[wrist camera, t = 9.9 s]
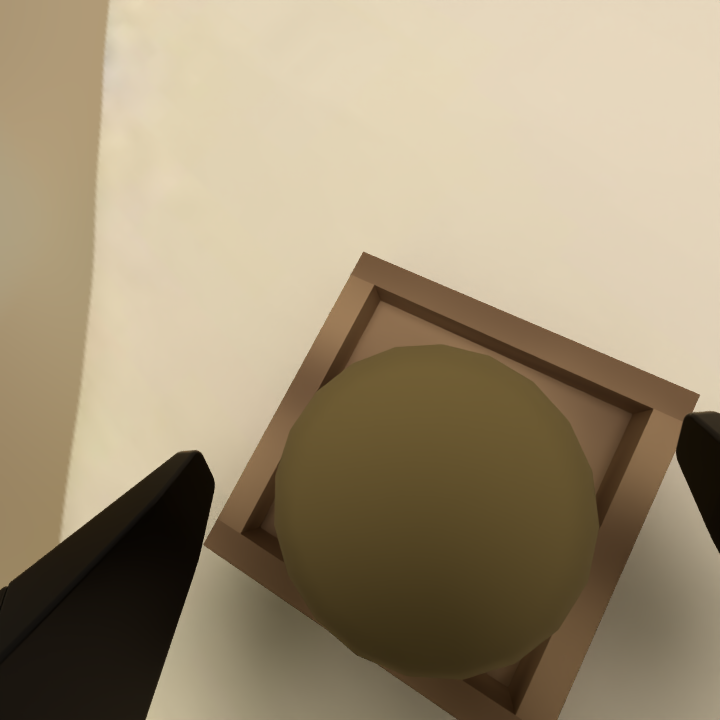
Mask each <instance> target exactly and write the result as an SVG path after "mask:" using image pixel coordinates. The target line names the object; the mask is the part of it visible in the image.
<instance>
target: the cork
mask: <svg viewBox="0 0 720 720" xmlns="http://www.w3.org/2000/svg"><path fill="white" fill-rule="evenodd" d="M274 526H275V530H276V533H277V537H278V541H279V544H280V548H281V552H282V555H283V559H284V563H285V566H286V570H287V574H288V576H289V577H290V579H291V581H292V582H293V584H294V586H295V587H296V589H297V590H298V592H299V594H300V595H301V597H302V598H303V600H304V602H305V603H306V605H307V606H308V608H309V610H310V611H311V613H312V614H313V616H314V618H315V619H316V620H317V621H318V622H319V623H320V624H321V625H322V626H324V627H325V628H326V629H327V630H328V631H329V632H330V633H332V634H333V635H334V636H335V637H336V638H337V639H339V640H340V641H341V642H342V643H343V644H344V645H345V646H347V647H348V648H349V649H350V650H351V651H352V652H354V653H355V654H356V655H357V656H360V657H362V658H364V659H367V660H369V661H372V662H374V663H376V664H379V665H381V666H384V667H386V668H388V669H391V670H393V671H395V672H398V673H400V674H403V675H405V676H408V677H425V678H441V679H458V680H463V679H466V678H470V677H473V676H476V675H479V674H483V673H486V672H489V671H493V670H496V669H499V668H502V667H506V666H509V665H512V664H515V663H517V662H518V661H519V660H520V659H522V658H523V657H524V656H526V655H527V654H528V653H529V652H531V651H532V650H533V649H535V648H536V647H537V646H538V645H540V644H541V643H542V642H543V641H545V640H546V639H547V638H549V637H550V636H551V635H552V634H554V633H555V632H556V631H558V630H559V628H560V627H561V625H562V624H563V622H564V620H565V619H566V617H567V615H568V614H569V612H570V610H571V609H572V607H573V606H574V604H575V602H576V601H577V599H578V597H579V596H580V594H581V592H582V591H583V589H584V588H585V586H586V584H587V583H588V579H589V575H590V570H591V565H592V560H593V555H594V550H595V545H596V541H597V536H598V531H599V520H598V512H597V504H596V496H595V488H594V480H593V472H592V469H591V467H590V465H589V463H588V460H587V458H586V456H585V454H584V452H583V450H582V448H581V445H580V443H579V441H578V439H577V437H576V435H575V433H574V430H573V428H572V426H571V424H570V422H569V420H568V419H567V418H566V417H565V416H564V415H563V414H562V413H561V412H560V410H559V409H558V408H557V407H556V406H555V405H554V404H553V403H552V402H551V401H550V399H549V398H548V397H547V396H546V395H545V394H544V393H543V392H542V391H541V390H540V388H539V387H538V386H537V385H536V384H535V383H534V382H533V381H531V380H530V379H528V378H526V377H525V376H523V375H521V374H520V373H518V372H516V371H515V370H513V369H511V368H509V367H508V366H506V365H504V364H503V363H501V362H499V361H498V360H496V359H494V358H493V357H491V356H489V355H485V354H481V353H477V352H472V351H468V350H464V349H460V348H456V347H452V346H448V345H444V344H436V345H420V346H404V347H394V348H391V349H389V350H386V351H384V352H381V353H378V354H376V355H373V356H371V357H368V358H365V359H363V360H360V361H357V362H355V363H352V364H351V365H350V366H348V367H347V368H346V369H345V370H343V371H342V372H341V373H340V374H338V375H337V376H336V377H334V378H333V379H332V380H331V381H329V382H328V383H327V384H326V385H324V386H323V387H322V388H321V389H319V390H318V391H317V392H316V393H315V394H314V396H313V397H312V399H311V400H310V402H309V403H308V405H307V406H306V407H305V409H304V410H303V412H302V413H301V415H300V416H299V418H298V419H297V421H296V422H295V423H294V425H293V426H292V428H291V429H290V431H289V434H288V438H287V441H286V444H285V447H284V450H283V453H282V456H281V459H280V463H279V466H278V469H277V472H276V475H275V515H274Z"/></svg>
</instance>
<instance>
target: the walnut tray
mask: <svg viewBox="0 0 720 720" xmlns="http://www.w3.org/2000/svg"><path fill="white" fill-rule="evenodd" d="M436 344H444V345H448V346H452V347H456V348H460V349H464V350H468V351H472V352H477V353H481V354H485V355H489V356H491V357H493V358H494V359H496V360H498V361H499V362H501V363H503V364H504V365H506V366H508V367H509V368H511V369H513V370H515V371H516V372H518V373H520V374H521V375H523V376H525V377H526V378H528V379H530V380H531V381H533V382H534V383H535V384H536V385H537V386H538V387H539V388H540V390H541V391H542V392H543V393H544V394H545V395H546V396H547V397H548V398H549V399H550V401H551V402H552V403H553V404H554V405H555V406H556V407H557V408H558V409H559V410H560V412H561V413H562V414H563V415H564V416H565V417H566V418H567V419H568V420H569V422H570V424H571V426H572V428H573V430H574V433H575V435H576V437H577V439H578V441H579V443H580V445H581V448H582V450H583V452H584V454H585V456H586V458H587V460H588V463H589V465H590V467H591V469H592V472H593V480H594V488H595V496H596V504H597V512H598V520H599V531H598V536H597V541H596V545H595V550H594V555H593V560H592V565H591V570H590V575H589V579H588V583H587V584H586V586H585V588H584V589H583V591H582V592H581V594H580V596H579V597H578V599H577V601H576V602H575V604H574V606H573V607H572V609H571V610H570V612H569V614H568V615H567V617H566V619H565V620H564V622H563V624H562V625H561V627H560V628H559V630H558V631H556V632H555V633H554V634H552V635H551V636H550V637H549V638H547V639H546V640H545V641H543V642H542V643H541V644H540V645H538V646H537V647H536V648H535V649H533V650H532V651H531V652H529V653H528V654H527V655H526V656H524V657H523V658H522V659H520V660H519V661H518V662H517V663H515V664H512V665H509V666H506V667H502V668H499V669H496V670H493V671H489V672H486V673H483V674H479V675H476V676H473V677H470V678H466V679H463V680H458V679H441V678H425V677H408V676H405V675H403V674H400V673H398V672H395V671H393V670H391V669H388V668H386V667H384V666H381V665H379V664H378V665H379V666H381V667H382V668H384V669H385V670H386V671H388V672H389V673H391V674H392V675H394V676H395V677H397V678H398V679H400V680H401V681H402V682H404V683H405V684H407V685H408V686H410V687H411V688H413V689H414V690H416V691H417V692H419V693H420V694H421V695H423V696H424V697H426V698H427V699H429V700H430V701H432V702H433V703H435V704H436V705H437V706H439V707H440V708H442V709H443V710H445V711H446V712H448V713H449V714H451V715H452V716H453V717H455V718H456V719H458V720H557V719H558V716H559V714H560V712H561V709H562V707H563V705H564V703H565V700H566V698H567V696H568V694H569V691H570V689H571V687H572V684H573V682H574V680H575V678H576V675H577V673H578V671H579V669H580V666H581V664H582V662H583V659H584V657H585V655H586V653H587V650H588V648H589V646H590V644H591V641H592V639H593V637H594V634H595V632H596V630H597V628H598V625H599V623H600V621H601V619H602V616H603V614H604V612H605V610H606V607H607V605H608V603H609V600H610V598H611V596H612V594H613V591H614V589H615V587H616V585H617V582H618V580H619V578H620V575H621V573H622V571H623V569H624V566H625V564H626V562H627V560H628V557H629V555H630V553H631V550H632V548H633V546H634V544H635V541H636V539H637V537H638V535H639V532H640V530H641V528H642V525H643V523H644V521H645V519H646V516H647V514H648V512H649V510H650V507H651V505H652V503H653V500H654V498H655V496H656V494H657V491H658V489H659V487H660V485H661V482H662V480H663V478H664V476H665V473H666V471H667V469H668V466H669V464H670V462H671V460H672V457H673V455H674V453H675V451H676V447H677V443H678V439H679V434H680V430H681V426H682V422H683V419H684V417H685V416H686V415H687V414H689V413H692V412H693V410H694V407H695V405H696V403H697V401H698V398H699V396H700V395H699V394H697V393H695V392H692V391H690V390H688V389H685V388H683V387H680V386H678V385H676V384H673V383H671V382H669V381H666V380H664V379H662V378H659V377H657V376H655V375H652V374H650V373H648V372H645V371H643V370H640V369H638V368H636V367H633V366H631V365H629V364H626V363H624V362H622V361H619V360H617V359H615V358H612V357H610V356H608V355H605V354H603V353H600V352H598V351H596V350H593V349H591V348H589V347H586V346H584V345H582V344H579V343H577V342H575V341H572V340H570V339H568V338H565V337H563V336H560V335H558V334H556V333H553V332H551V331H549V330H546V329H544V328H542V327H539V326H537V325H535V324H532V323H530V322H528V321H525V320H523V319H520V318H518V317H516V316H513V315H511V314H509V313H506V312H504V311H502V310H499V309H497V308H495V307H492V306H490V305H488V304H485V303H483V302H480V301H478V300H476V299H473V298H471V297H469V296H466V295H464V294H462V293H459V292H457V291H455V290H452V289H450V288H448V287H445V286H443V285H440V284H438V283H436V282H433V281H431V280H429V279H426V278H424V277H422V276H419V275H417V274H415V273H412V272H410V271H408V270H405V269H403V268H400V267H398V266H396V265H393V264H391V263H389V262H386V261H384V260H382V259H379V258H377V257H375V256H372V255H370V254H368V253H365V252H363V253H362V255H361V257H360V259H359V261H358V263H357V264H356V266H355V268H354V270H353V272H352V274H351V275H350V277H349V279H348V281H347V283H346V285H345V286H344V288H343V290H342V292H341V294H340V296H339V297H338V299H337V301H336V303H335V305H334V307H333V308H332V310H331V312H330V314H329V316H328V317H327V319H326V321H325V323H324V325H323V327H322V328H321V330H320V332H319V334H318V336H317V338H316V339H315V341H314V343H313V345H312V347H311V349H310V350H309V352H308V354H307V356H306V358H305V360H304V361H303V363H302V365H301V367H300V369H299V371H298V372H297V374H296V376H295V378H294V380H293V382H292V383H291V385H290V387H289V389H288V391H287V393H286V394H285V396H284V398H283V400H282V402H281V404H280V405H279V407H278V409H277V411H276V413H275V415H274V416H273V418H272V420H271V422H270V424H269V426H268V427H267V429H266V431H265V433H264V435H263V437H262V438H261V440H260V442H259V444H258V446H257V448H256V449H255V451H254V453H253V455H252V457H251V459H250V460H249V462H248V464H247V466H246V468H245V470H244V471H243V473H242V475H241V477H240V479H239V481H238V482H237V484H236V486H235V488H234V490H233V492H232V493H231V495H230V497H229V499H228V501H227V503H226V504H225V506H224V508H223V510H222V512H221V514H220V515H219V517H218V519H217V521H216V523H215V525H214V526H213V528H212V530H211V532H210V534H209V536H208V537H207V539H206V541H205V543H204V546H206V547H207V548H209V549H210V550H212V551H213V552H214V553H216V554H217V555H219V556H220V557H222V558H223V559H225V560H226V561H228V562H229V563H230V564H232V565H233V566H235V567H236V568H238V569H239V570H241V571H242V572H244V573H245V574H247V575H248V576H249V577H251V578H252V579H254V580H255V581H257V582H258V583H260V584H261V585H263V586H264V587H265V588H267V589H268V590H270V591H271V592H273V593H274V594H276V595H277V596H279V597H280V598H281V599H283V600H284V601H286V602H287V603H289V604H290V605H292V606H293V607H295V608H296V609H298V610H299V611H300V612H302V613H303V614H305V615H306V616H308V617H309V618H311V619H312V620H314V621H315V622H316V623H318V624H319V625H321V624H320V623H319V622H318V621H317V620H316V619H315V618H314V616H313V614H312V613H311V611H310V610H309V608H308V606H307V605H306V603H305V602H304V600H303V598H302V597H301V595H300V594H299V592H298V590H297V589H296V587H295V586H294V584H293V582H292V581H291V579H290V577H289V576H288V574H287V570H286V566H285V563H284V559H283V555H282V552H281V548H280V544H279V541H278V537H277V533H276V530H275V526H274V515H275V475H276V472H277V469H278V466H279V463H280V459H281V456H282V453H283V450H284V447H285V444H286V441H287V438H288V434H289V431H290V429H291V428H292V426H293V425H294V423H295V422H296V421H297V419H298V418H299V416H300V415H301V413H302V412H303V410H304V409H305V407H306V406H307V405H308V403H309V402H310V400H311V399H312V397H313V396H314V394H315V393H316V392H317V391H318V390H319V389H321V388H322V387H323V386H324V385H326V384H327V383H328V382H329V381H331V380H332V379H333V378H334V377H336V376H337V375H338V374H340V373H341V372H342V371H343V370H345V369H346V368H347V367H348V366H350V365H351V364H352V363H355V362H357V361H360V360H363V359H365V358H368V357H371V356H373V355H376V354H378V353H381V352H384V351H386V350H389V349H391V348H394V347H404V346H420V345H436ZM321 626H322V625H321ZM322 627H324V626H322ZM324 628H325V627H324ZM325 629H326V628H325Z"/></svg>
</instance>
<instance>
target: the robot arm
mask: <svg viewBox="0 0 720 720" xmlns="http://www.w3.org/2000/svg"><path fill="white" fill-rule="evenodd" d="M676 456H677V460H678V463H679V465H680V467H681V470H682V472H683V474H684V477H685V479H686V481H687V483H688V486H689V488H690V490H691V493H692V495H693V497H694V499H695V502H696V504H697V506H698V509H699V511H700V513H701V516H702V518H703V520H704V522H705V525H706V527H707V529H708V531H709V533H710V536H711V538H712V540H713V542H714V544H715V546H716V548H717V549H718V551H719V553H720V413H717V412H714V411H705V412H692V413H689V414H687V415H686V416H685V417H684V419H683V422H682V426H681V430H680V434H679V439H678V443H677V447H676ZM214 489H215V482H214V478H213V475H212V473H211V471H210V469H209V467H208V465H207V463H206V461H205V459H204V457H203V455H202V453H201V452H199V451H197V450H191V451H181V452H178V453H176V454H175V455H174V456H173V457H171V458H170V459H169V460H167V461H166V462H165V463H163V464H162V465H161V466H160V467H158V468H157V469H156V470H154V471H153V472H152V473H151V474H149V475H148V476H147V477H145V478H144V479H143V480H142V481H140V482H139V483H138V484H136V485H135V486H134V487H133V488H131V489H130V490H129V491H127V492H126V493H125V494H124V495H122V496H121V497H120V498H118V499H117V500H116V501H114V502H113V503H112V504H111V505H109V506H108V507H107V508H105V509H104V510H103V511H102V512H100V513H99V514H98V515H96V516H95V517H94V518H93V519H91V520H90V521H89V522H87V523H86V524H85V525H84V526H82V527H81V528H80V529H78V530H77V531H76V532H75V533H73V534H72V535H71V536H69V537H68V538H67V539H65V540H64V541H63V542H62V543H60V544H59V545H58V546H56V547H55V548H54V549H53V550H52V551H50V552H49V553H47V554H46V555H45V556H44V557H42V558H41V559H40V560H38V561H37V562H36V563H35V564H34V565H32V566H31V567H29V568H28V569H27V570H25V571H24V572H23V573H22V574H20V575H19V576H18V577H17V578H15V579H14V580H13V581H11V582H10V583H9V586H6V587H3V588H2V589H1V590H0V720H146V717H147V714H148V711H149V708H150V705H151V702H152V699H153V696H154V693H155V690H156V687H157V684H158V681H159V678H160V675H161V672H162V669H163V666H164V663H165V660H166V657H167V654H168V651H169V648H170V645H171V642H172V639H173V636H174V633H175V630H176V627H177V624H178V621H179V618H180V615H181V612H182V609H183V606H184V603H185V600H186V597H187V594H188V591H189V588H190V585H191V582H192V579H193V576H194V573H195V570H196V566H197V563H198V560H199V556H200V552H201V548H202V544H203V539H204V535H205V530H206V526H207V521H208V517H209V512H210V508H211V503H212V499H213V494H214Z"/></svg>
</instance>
